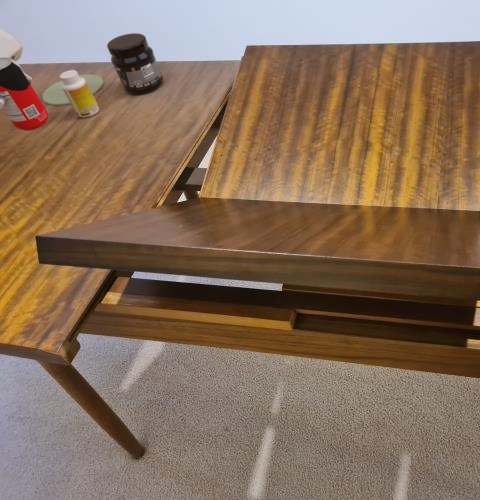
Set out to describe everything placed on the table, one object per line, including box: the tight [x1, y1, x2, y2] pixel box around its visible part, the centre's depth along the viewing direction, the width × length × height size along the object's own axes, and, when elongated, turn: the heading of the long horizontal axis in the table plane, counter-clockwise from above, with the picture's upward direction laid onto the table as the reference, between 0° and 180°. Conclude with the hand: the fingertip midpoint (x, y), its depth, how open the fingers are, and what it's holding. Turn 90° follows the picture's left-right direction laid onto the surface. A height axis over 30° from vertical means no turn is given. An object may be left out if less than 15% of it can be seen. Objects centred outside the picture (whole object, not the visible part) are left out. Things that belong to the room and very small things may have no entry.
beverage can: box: [0, 57, 49, 132], centre depth 84 cm, size 6×6×12 cm
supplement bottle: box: [59, 69, 100, 119], centre depth 111 cm, size 6×6×10 cm
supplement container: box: [106, 32, 164, 95], centre depth 118 cm, size 10×10×12 cm
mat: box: [41, 73, 105, 106], centre depth 124 cm, size 16×16×1 cm
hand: (17, 93), depth 84 cm, fingers closed on beverage can, 6 cm apart
